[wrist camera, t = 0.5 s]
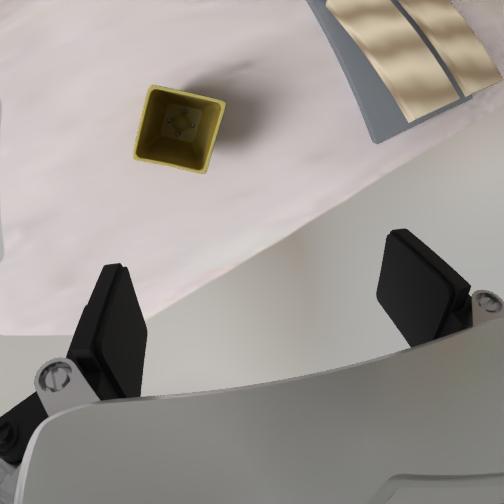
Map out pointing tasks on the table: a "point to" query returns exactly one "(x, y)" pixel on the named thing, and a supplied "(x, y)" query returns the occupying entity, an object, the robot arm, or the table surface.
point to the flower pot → (178, 129)
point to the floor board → (375, 77)
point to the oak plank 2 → (454, 43)
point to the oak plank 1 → (396, 55)
